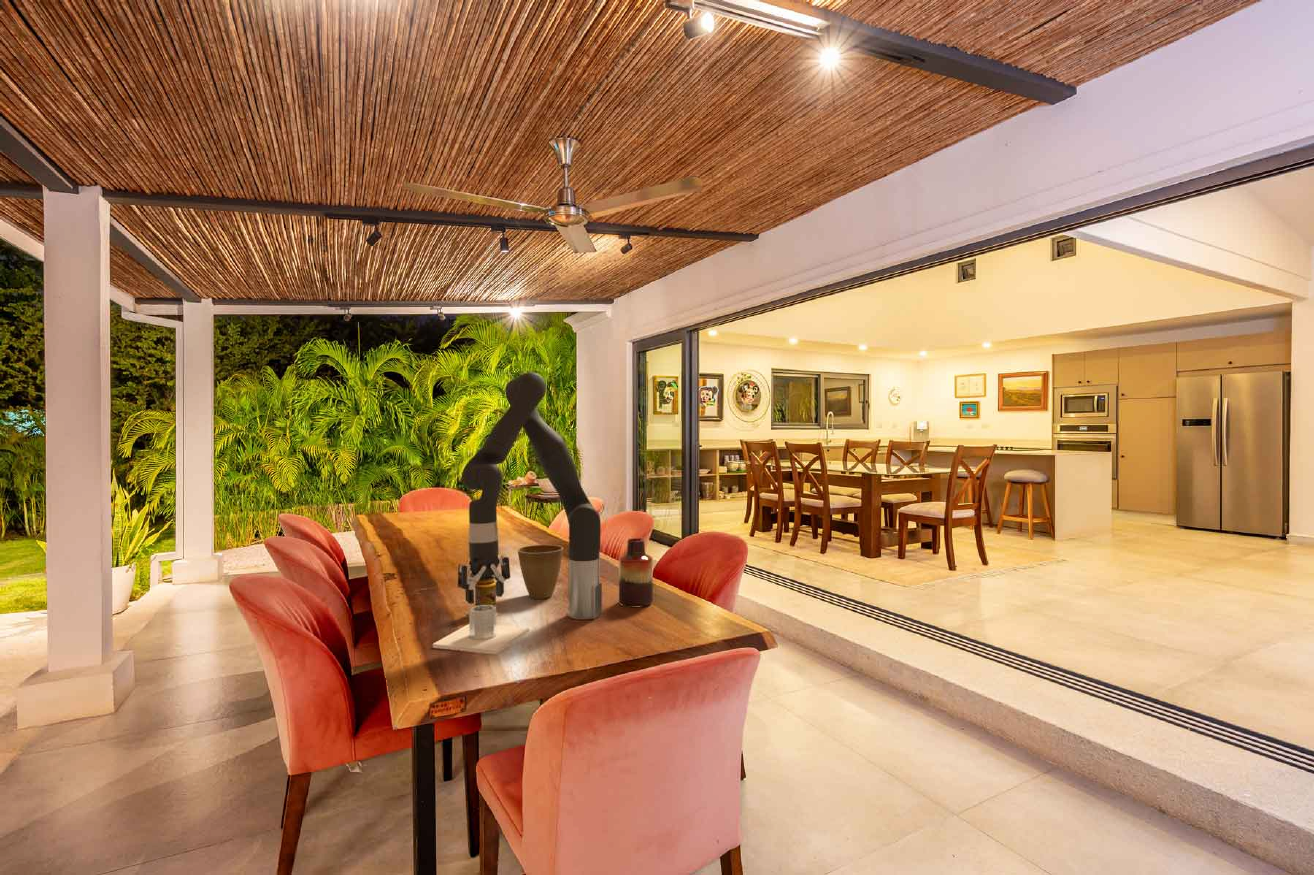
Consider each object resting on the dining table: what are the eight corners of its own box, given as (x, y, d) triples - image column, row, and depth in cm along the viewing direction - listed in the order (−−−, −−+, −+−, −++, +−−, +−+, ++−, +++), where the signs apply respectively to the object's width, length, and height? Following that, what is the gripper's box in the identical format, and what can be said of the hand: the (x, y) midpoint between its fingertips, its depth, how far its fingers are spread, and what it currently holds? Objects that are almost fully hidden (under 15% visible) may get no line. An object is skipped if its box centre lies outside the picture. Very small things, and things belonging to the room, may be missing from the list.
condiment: (500, 615, 189) (500, 575, 189) (472, 619, 185) (472, 579, 184) (492, 609, 195) (492, 570, 195) (464, 613, 191) (464, 574, 191)
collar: (487, 629, 172) (487, 603, 172) (500, 634, 168) (499, 608, 167) (466, 634, 168) (465, 608, 167) (478, 640, 163) (478, 613, 163)
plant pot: (569, 591, 216) (569, 545, 215) (552, 603, 201) (552, 553, 201) (529, 589, 219) (529, 543, 219) (509, 600, 205) (509, 551, 204)
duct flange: (529, 631, 174) (529, 610, 174) (495, 654, 157) (495, 630, 156) (471, 626, 179) (471, 605, 179) (432, 647, 161) (432, 624, 161)
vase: (659, 601, 204) (659, 538, 204) (640, 609, 195) (640, 544, 194) (631, 596, 210) (631, 535, 209) (612, 604, 201) (612, 540, 200)
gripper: (499, 533, 174) (500, 591, 174) (451, 541, 164) (453, 603, 164) (514, 536, 169) (516, 596, 169) (466, 544, 159) (468, 608, 159)
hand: (485, 599), depth 167 cm, fingers open, 8 cm apart
